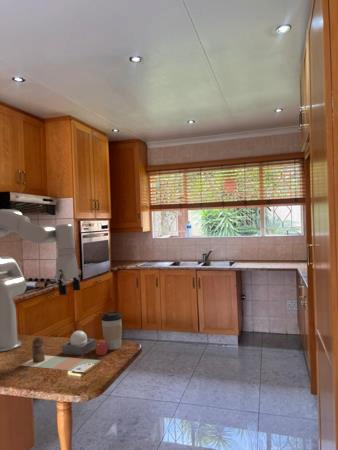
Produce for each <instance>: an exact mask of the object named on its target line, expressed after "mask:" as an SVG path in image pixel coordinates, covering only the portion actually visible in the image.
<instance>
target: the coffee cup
mask: <svg viewBox="0 0 338 450" xmlns="http://www.w3.org/2000/svg"><path fill="white" fill-rule="evenodd" d="M122 318H123V316H122V315H121V314H120V312H118V311H108V312H105V313H103V315H102V316H101V319H100V320H101V327H102V335H103V339H104V341H103V342H107V350H111V351H112V350H119V349H120V348H122V334H123V333H122V331H123V330H122V329H123V328H122V327H123V325H122V324H123V323H122Z"/></svg>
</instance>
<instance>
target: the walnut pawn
mask: <svg viewBox="0 0 338 450" xmlns="http://www.w3.org/2000/svg"><path fill="white" fill-rule="evenodd" d="M31 348H32V358H33V362H34V363H39V362H43V361H44V360H45V356H44V355H45V344H44V340H43V339H42V338H41V337H35V338H34V339H33V340H32V346H31Z"/></svg>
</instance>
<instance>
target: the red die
mask: <svg viewBox="0 0 338 450" xmlns="http://www.w3.org/2000/svg"><path fill="white" fill-rule="evenodd" d="M95 344H96V347H95V355H96V356H106V355H107V353H108V349H107V342H105V341H99V342H97V343H95Z"/></svg>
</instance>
